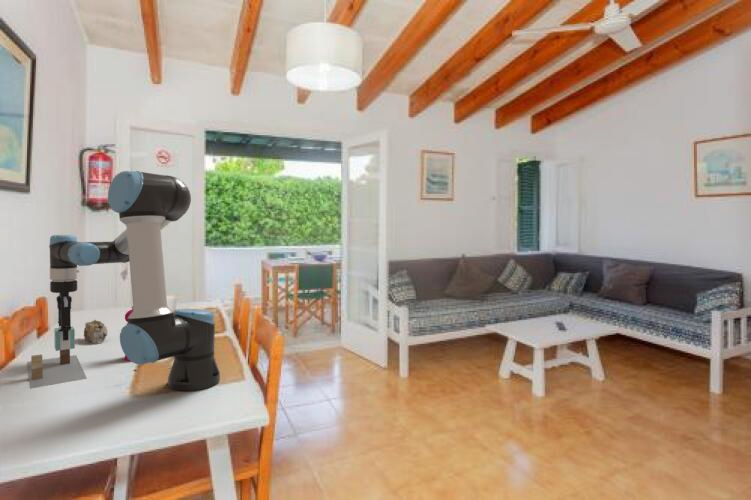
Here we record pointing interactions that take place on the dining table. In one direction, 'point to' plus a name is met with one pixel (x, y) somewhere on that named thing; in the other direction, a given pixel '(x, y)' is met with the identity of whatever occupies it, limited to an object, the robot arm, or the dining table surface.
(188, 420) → the dining table surface
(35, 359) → the post beech
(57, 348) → the mint green foam cube
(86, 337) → the rock
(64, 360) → the post walnut
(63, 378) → the stand
